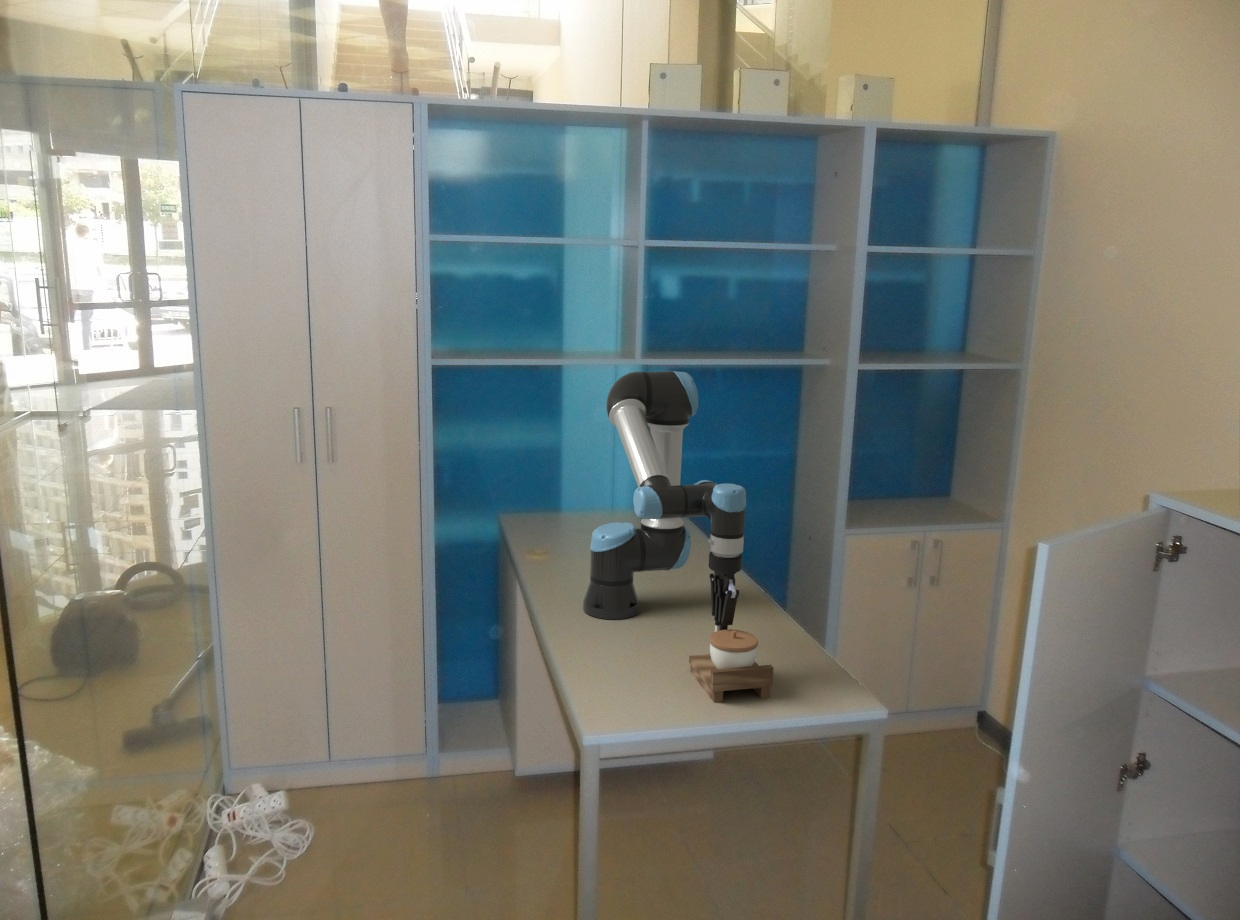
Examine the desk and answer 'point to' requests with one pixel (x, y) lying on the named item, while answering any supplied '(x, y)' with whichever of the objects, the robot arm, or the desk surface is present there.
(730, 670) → the wooden stand
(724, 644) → the lidded jar
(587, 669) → the desk surface
